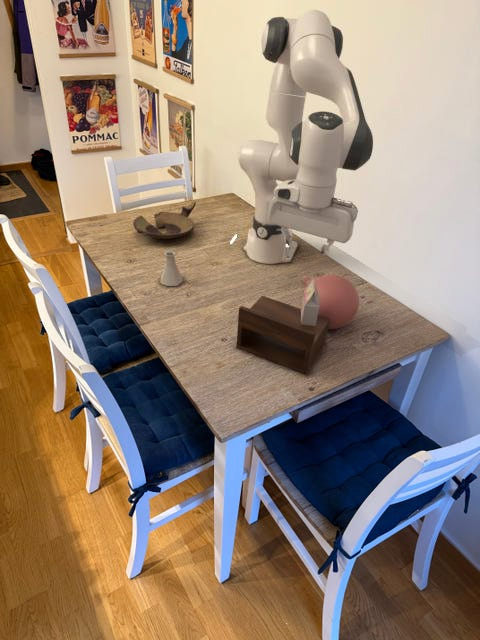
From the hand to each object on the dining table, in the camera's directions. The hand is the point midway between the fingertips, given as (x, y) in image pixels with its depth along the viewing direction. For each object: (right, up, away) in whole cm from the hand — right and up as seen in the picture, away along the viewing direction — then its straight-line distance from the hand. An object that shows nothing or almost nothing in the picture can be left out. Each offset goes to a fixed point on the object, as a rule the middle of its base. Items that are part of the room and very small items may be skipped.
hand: (305, 248), depth 106 cm
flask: (-38, -5, +36) cm, 53 cm away
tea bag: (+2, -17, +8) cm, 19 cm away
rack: (-5, -25, +12) cm, 28 cm away
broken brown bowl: (-43, +16, +64) cm, 79 cm away
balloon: (+8, -17, +24) cm, 30 cm away
